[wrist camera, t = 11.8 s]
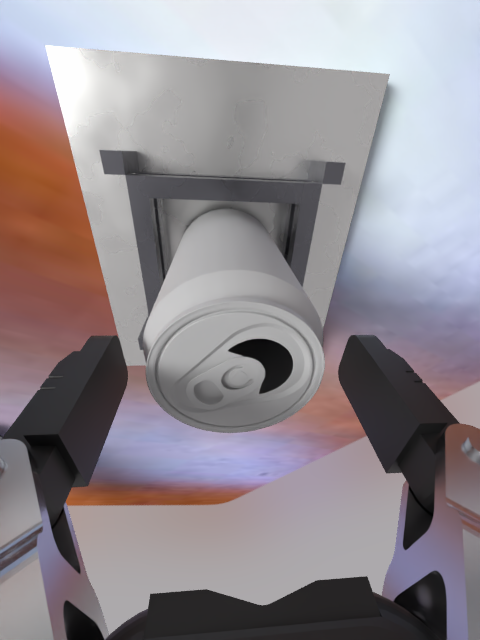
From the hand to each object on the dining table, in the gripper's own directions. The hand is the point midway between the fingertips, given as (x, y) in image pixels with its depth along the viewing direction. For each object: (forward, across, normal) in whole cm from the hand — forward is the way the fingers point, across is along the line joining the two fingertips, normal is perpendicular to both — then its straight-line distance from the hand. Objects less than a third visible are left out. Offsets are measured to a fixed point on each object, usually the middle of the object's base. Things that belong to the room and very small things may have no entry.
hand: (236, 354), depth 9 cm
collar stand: (+12, 0, 0) cm, 12 cm away
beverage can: (+11, 0, 0) cm, 11 cm away
